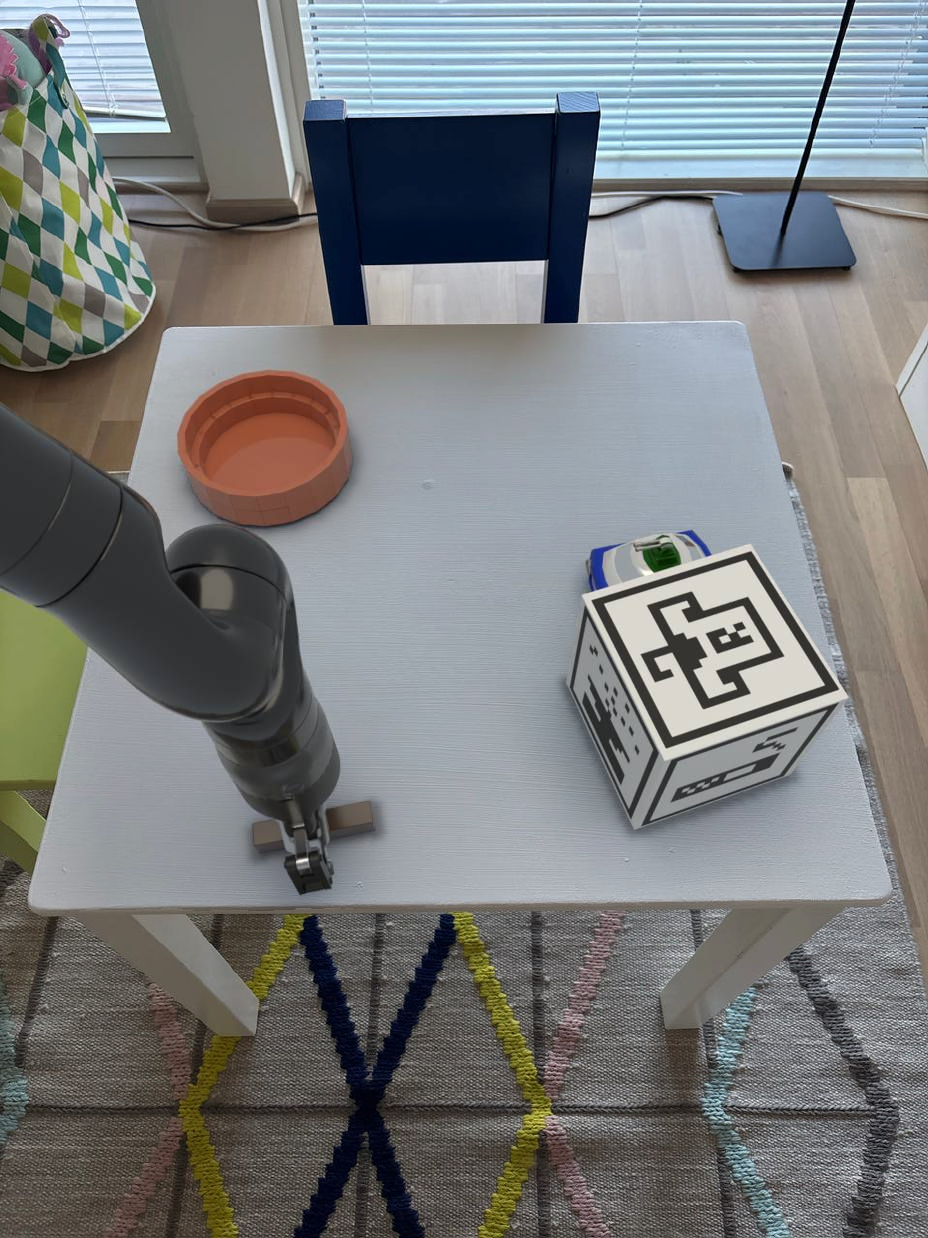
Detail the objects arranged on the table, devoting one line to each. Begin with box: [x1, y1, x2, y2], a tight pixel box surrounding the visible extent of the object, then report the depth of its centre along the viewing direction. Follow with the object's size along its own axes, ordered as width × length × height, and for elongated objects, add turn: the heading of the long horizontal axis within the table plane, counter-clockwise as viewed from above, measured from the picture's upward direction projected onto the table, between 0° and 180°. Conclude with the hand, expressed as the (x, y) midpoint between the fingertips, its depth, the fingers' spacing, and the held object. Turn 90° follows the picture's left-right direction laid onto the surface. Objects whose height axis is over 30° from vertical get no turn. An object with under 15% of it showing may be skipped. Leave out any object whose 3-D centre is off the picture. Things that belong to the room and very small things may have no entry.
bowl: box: [176, 369, 354, 527], centre depth 98 cm, size 18×18×6 cm
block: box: [565, 543, 850, 831], centre depth 76 cm, size 15×15×15 cm
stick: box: [251, 800, 376, 854], centre depth 77 cm, size 2×10×2 cm, turn 101°
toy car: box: [584, 529, 713, 592], centre depth 86 cm, size 9×12×10 cm
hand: (315, 824), depth 77 cm, fingers open, 8 cm apart
